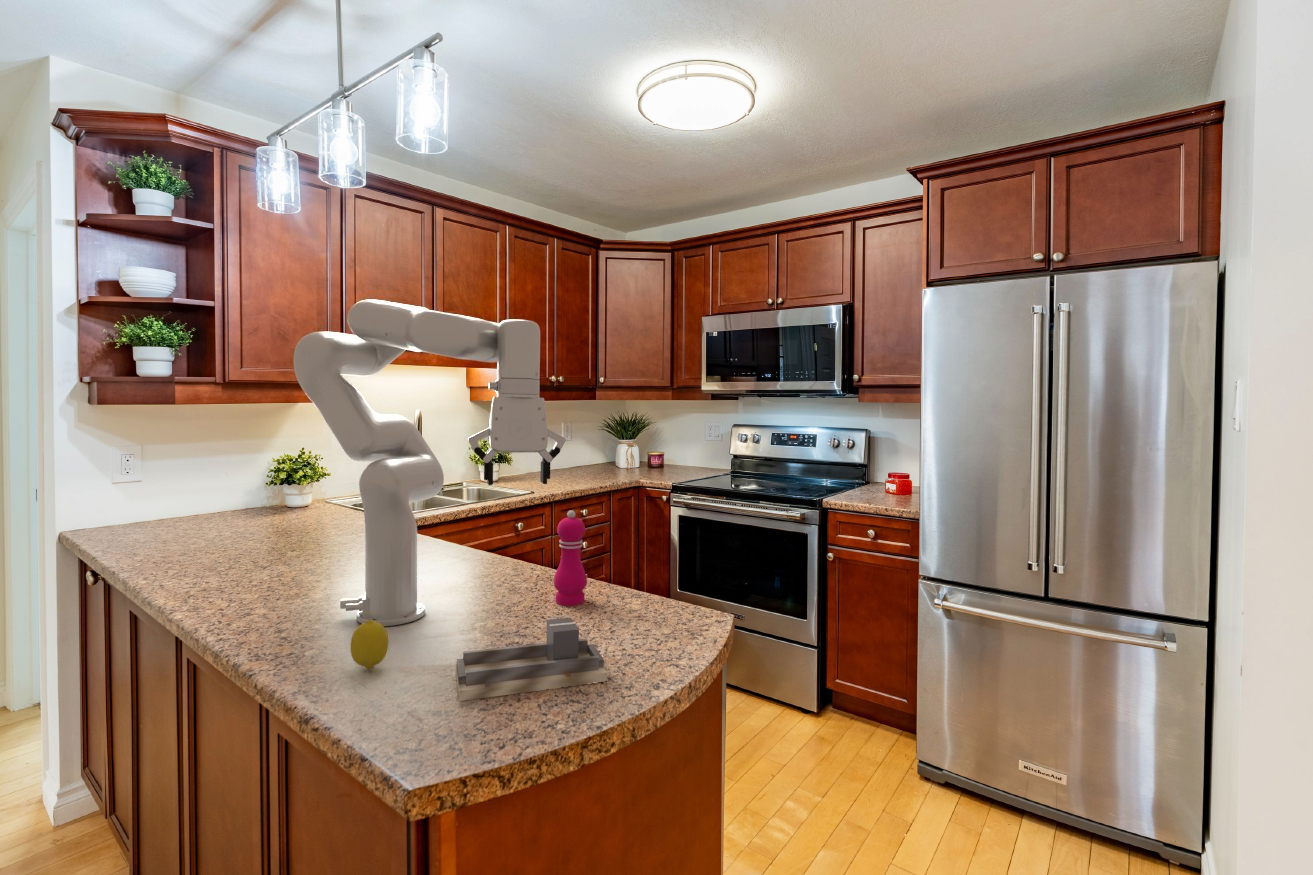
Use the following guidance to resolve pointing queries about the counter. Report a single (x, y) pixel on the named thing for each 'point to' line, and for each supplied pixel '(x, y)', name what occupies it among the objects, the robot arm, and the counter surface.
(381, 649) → the lemon
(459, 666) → the fader board
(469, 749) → the counter surface
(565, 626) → the fader knob
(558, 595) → the pepper mill
